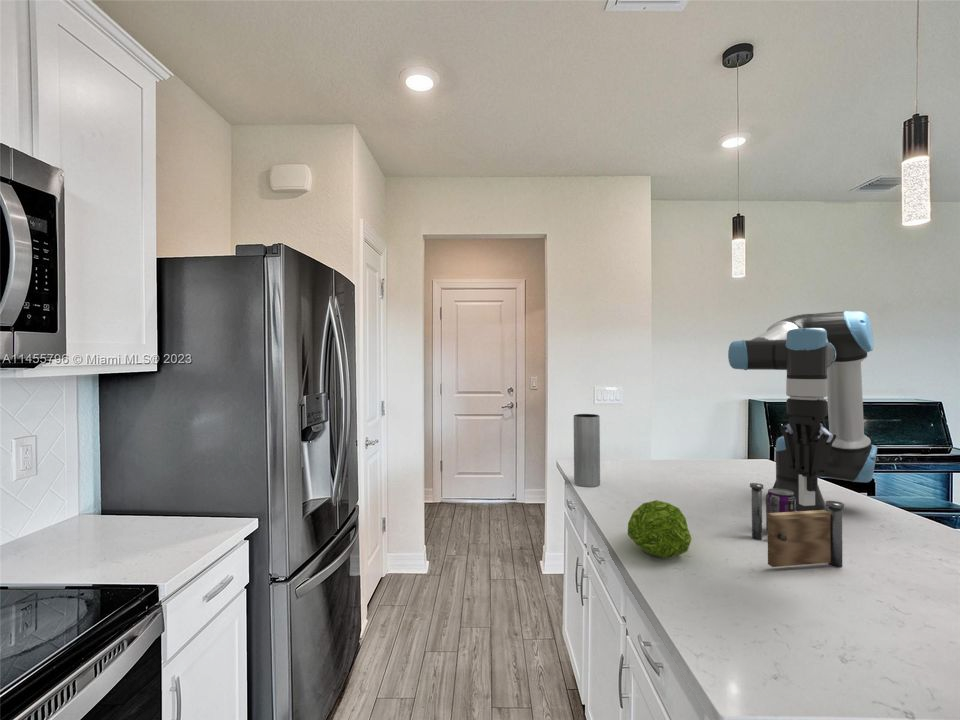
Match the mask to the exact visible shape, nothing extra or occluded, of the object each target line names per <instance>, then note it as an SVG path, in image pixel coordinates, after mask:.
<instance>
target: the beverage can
mask: <svg viewBox="0 0 960 720" xmlns="http://www.w3.org/2000/svg"><path fill="white" fill-rule="evenodd" d="M765 508H766V509H765V517H766V518H765V526H766V527H765V530H766V532H768V518H767V513H780V512H797V510H796V499H795V497H794V492H792V491H789V490H785V489H777V488H773V487H772V488H769V489H767V493H766V494H765Z"/></svg>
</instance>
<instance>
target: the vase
mask: <svg viewBox="0 0 960 720" xmlns="http://www.w3.org/2000/svg"><path fill="white" fill-rule="evenodd" d="M600 420H601V418H600V415H599V414H593V413H576V414H574V415H573V483H574V485H575V486H577V487H584V488H596V487H598V486H600V485H601V453H600V452H601V440H600V439H601V435H600V434H601V430H600V427H601V421H600Z"/></svg>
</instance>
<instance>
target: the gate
mask: <svg viewBox="0 0 960 720" xmlns="http://www.w3.org/2000/svg"><path fill="white" fill-rule="evenodd" d="M830 517H831V512H829V511H828V510H826V509H823V510H814V511H798V510H796V512H780V513H767V518H768V531H767V565H768V566H770V567H771V568H780V567H791V566H803V565H804V566H806V565H819V564H828V563H831V554H830Z"/></svg>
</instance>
